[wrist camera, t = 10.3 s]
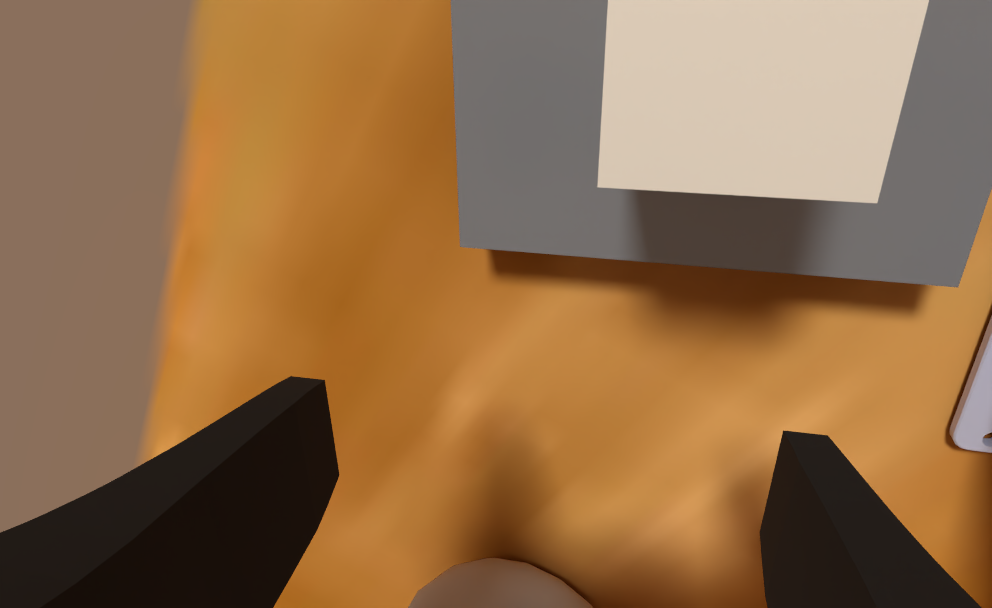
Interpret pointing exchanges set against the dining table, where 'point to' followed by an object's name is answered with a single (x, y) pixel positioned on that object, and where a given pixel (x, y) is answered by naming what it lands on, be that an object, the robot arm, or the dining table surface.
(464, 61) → the tile
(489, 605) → the donut
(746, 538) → the dining table surface
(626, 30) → the block
